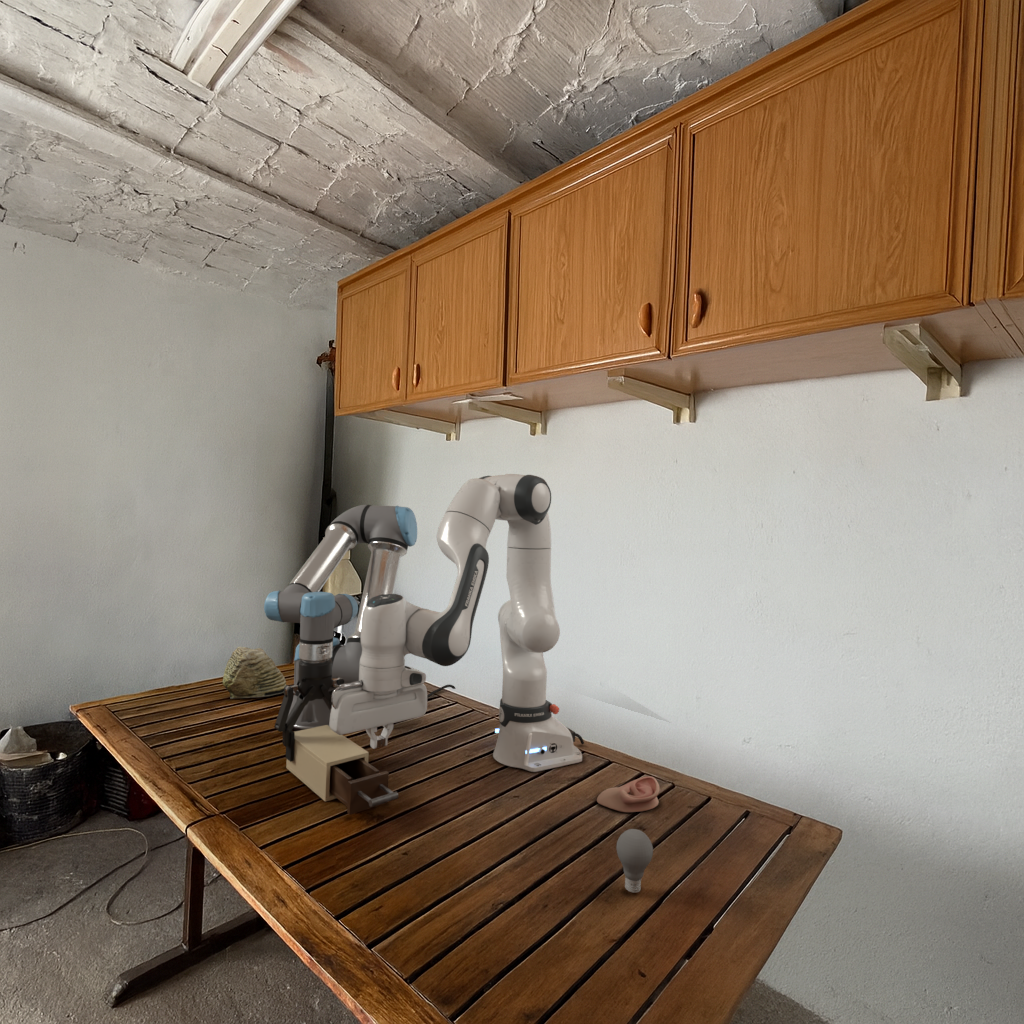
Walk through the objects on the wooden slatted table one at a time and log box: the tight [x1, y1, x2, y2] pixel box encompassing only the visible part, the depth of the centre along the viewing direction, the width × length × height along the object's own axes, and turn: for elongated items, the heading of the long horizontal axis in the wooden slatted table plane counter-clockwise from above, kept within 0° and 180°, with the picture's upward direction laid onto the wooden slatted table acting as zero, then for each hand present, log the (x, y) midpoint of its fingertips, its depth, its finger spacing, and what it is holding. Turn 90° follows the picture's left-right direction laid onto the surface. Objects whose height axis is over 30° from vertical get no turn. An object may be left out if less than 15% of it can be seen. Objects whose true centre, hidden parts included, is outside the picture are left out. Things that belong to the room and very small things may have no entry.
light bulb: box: [615, 828, 654, 894], centre depth 106 cm, size 6×6×10 cm
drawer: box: [329, 758, 399, 816], centre depth 133 cm, size 26×9×6 cm, turn 42°
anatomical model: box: [596, 775, 661, 813], centre depth 138 cm, size 13×4×12 cm
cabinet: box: [285, 725, 370, 803], centre depth 143 cm, size 21×10×8 cm, turn 42°
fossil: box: [222, 646, 287, 699], centre depth 198 cm, size 9×18×15 cm, turn 132°
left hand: (312, 753), depth 148 cm, fingers open, 10 cm apart
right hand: (378, 746), depth 126 cm, fingers closed
